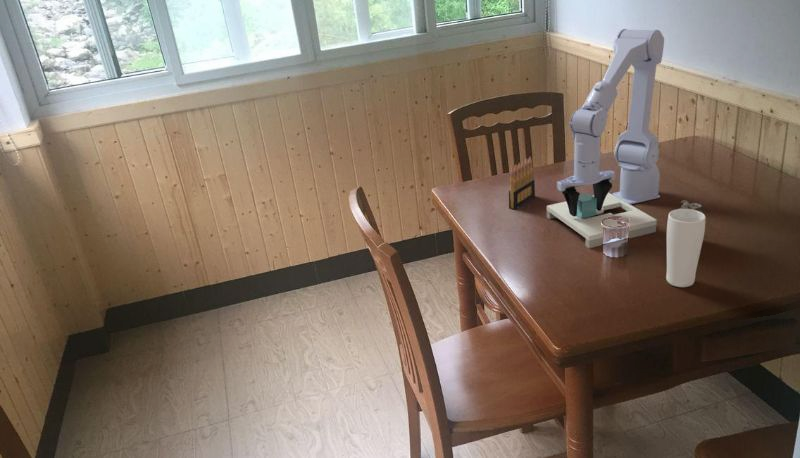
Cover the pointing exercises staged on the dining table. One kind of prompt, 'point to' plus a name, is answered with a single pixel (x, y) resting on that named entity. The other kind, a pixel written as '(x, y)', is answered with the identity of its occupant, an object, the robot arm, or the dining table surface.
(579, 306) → the dining table surface
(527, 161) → the ammunition clip
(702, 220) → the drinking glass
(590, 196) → the peg
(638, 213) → the keyhole plate
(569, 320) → the dining table surface
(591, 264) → the dining table surface
